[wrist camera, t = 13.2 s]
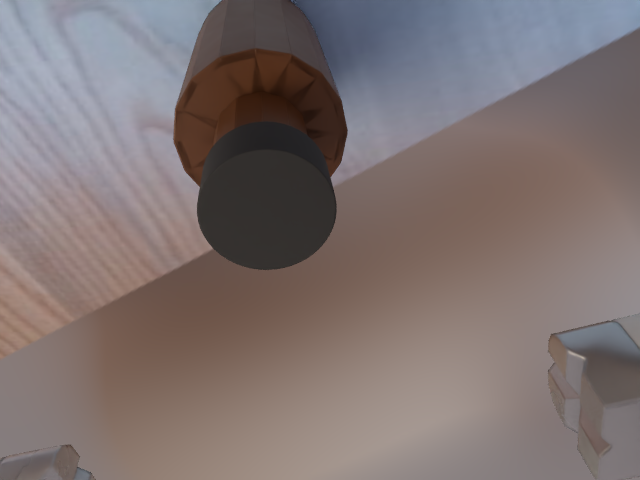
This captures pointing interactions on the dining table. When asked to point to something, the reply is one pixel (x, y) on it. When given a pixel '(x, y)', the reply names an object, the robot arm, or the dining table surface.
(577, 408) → the robot arm
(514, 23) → the dining table surface
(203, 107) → the bottle
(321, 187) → the cylinder
